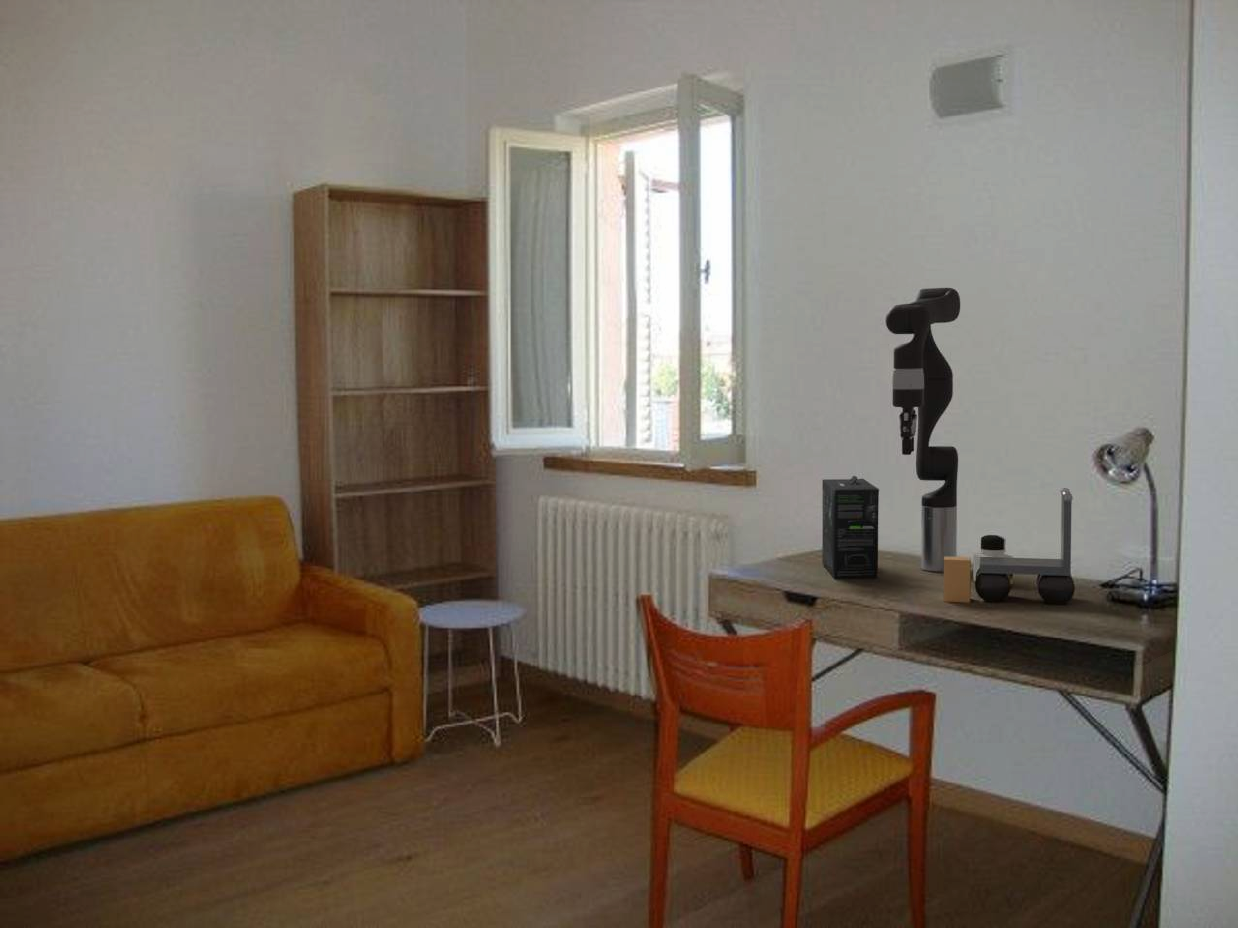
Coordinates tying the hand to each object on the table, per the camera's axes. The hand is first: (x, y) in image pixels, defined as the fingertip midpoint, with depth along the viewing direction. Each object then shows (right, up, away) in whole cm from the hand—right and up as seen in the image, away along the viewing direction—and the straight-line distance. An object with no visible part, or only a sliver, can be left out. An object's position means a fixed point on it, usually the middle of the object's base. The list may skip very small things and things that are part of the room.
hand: (908, 453), depth 302 cm
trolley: (+24, -35, -12) cm, 44 cm away
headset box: (-9, -32, +29) cm, 44 cm away
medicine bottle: (+24, -33, +10) cm, 42 cm away
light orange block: (+9, -35, -11) cm, 38 cm away
